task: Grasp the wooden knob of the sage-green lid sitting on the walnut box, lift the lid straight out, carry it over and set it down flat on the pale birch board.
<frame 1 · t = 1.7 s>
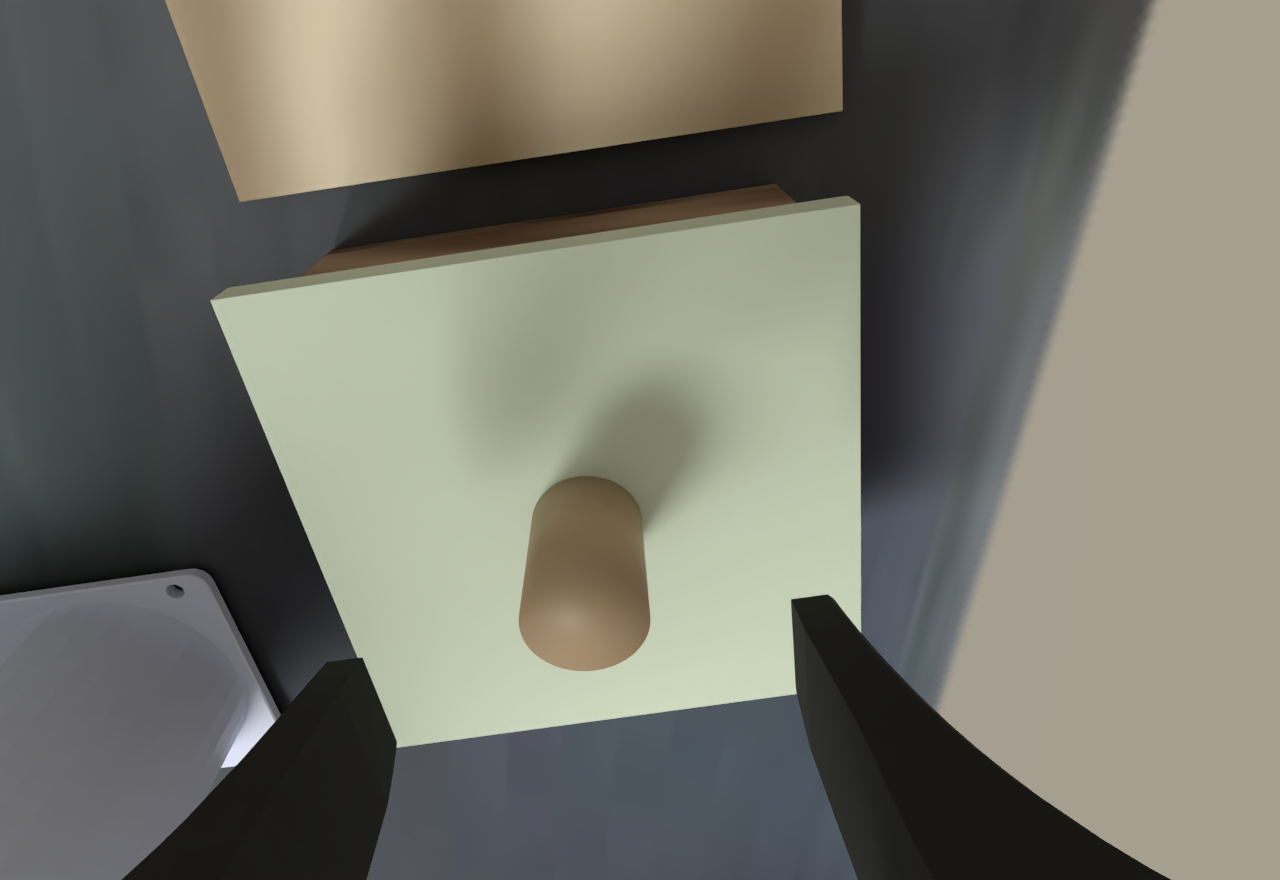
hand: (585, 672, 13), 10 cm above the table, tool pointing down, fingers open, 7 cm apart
lid: (587, 503, 18), point 4 cm above the table, touching box
box: (589, 415, 22), on the table
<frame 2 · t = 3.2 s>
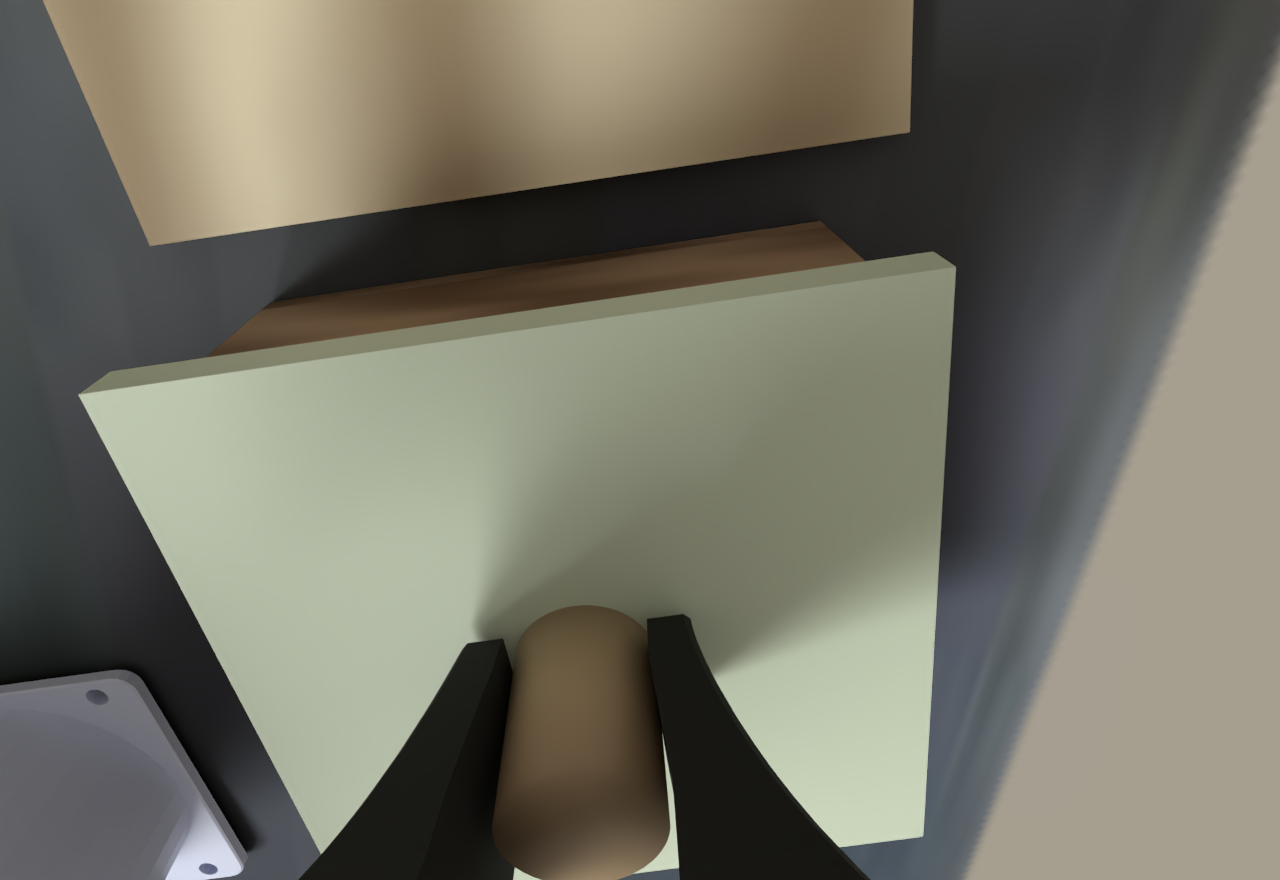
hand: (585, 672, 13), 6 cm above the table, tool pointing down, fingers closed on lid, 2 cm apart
lid: (586, 628, 14), point 4 cm above the table, touching box, gripper
box: (589, 494, 18), on the table
when the fingers open (4 cm above the table, at t = 7.1 s): lid drops 1 cm, resting on board.
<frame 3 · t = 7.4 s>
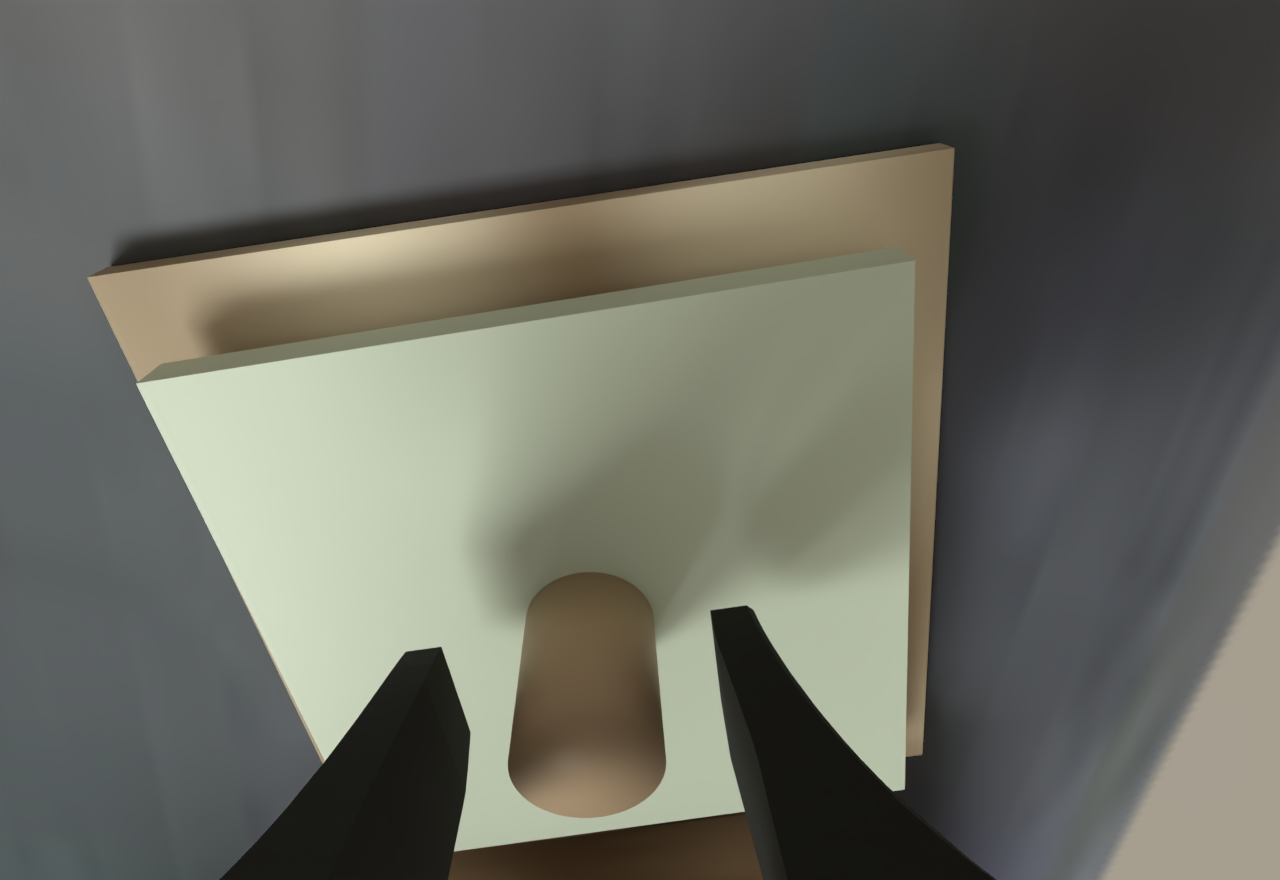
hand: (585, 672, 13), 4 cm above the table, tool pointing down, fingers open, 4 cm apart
lid: (590, 595, 15), point 1 cm above the table, touching board
board: (588, 546, 16), on the table
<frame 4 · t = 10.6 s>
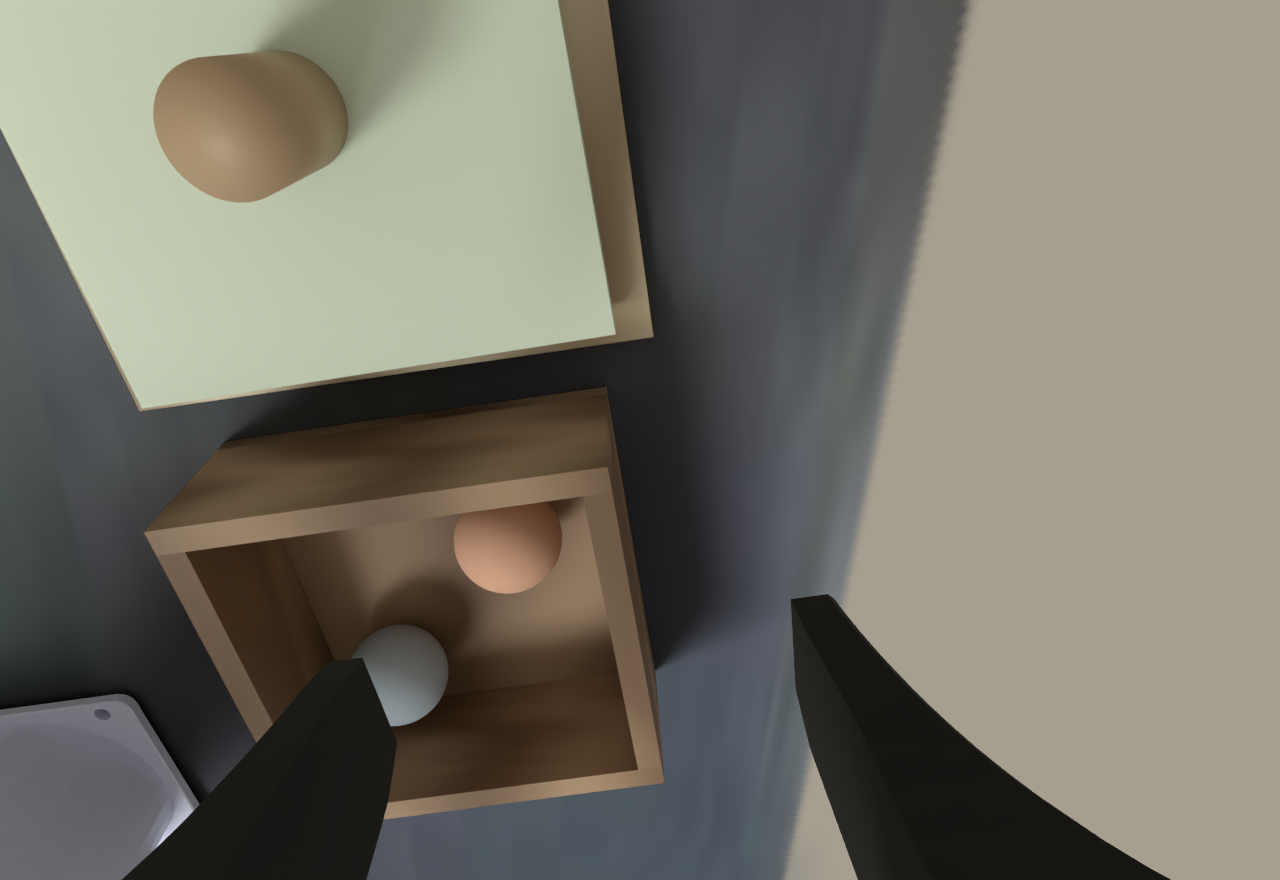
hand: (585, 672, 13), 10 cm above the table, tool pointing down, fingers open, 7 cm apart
ball b: (513, 509, 23), resting on box
lid: (302, 110, 17), point 1 cm above the table, touching board
board: (315, 89, 18), on the table
ball a: (408, 640, 25), resting on box
box: (461, 568, 25), on the table
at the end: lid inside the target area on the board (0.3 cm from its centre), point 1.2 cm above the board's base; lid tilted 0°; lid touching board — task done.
